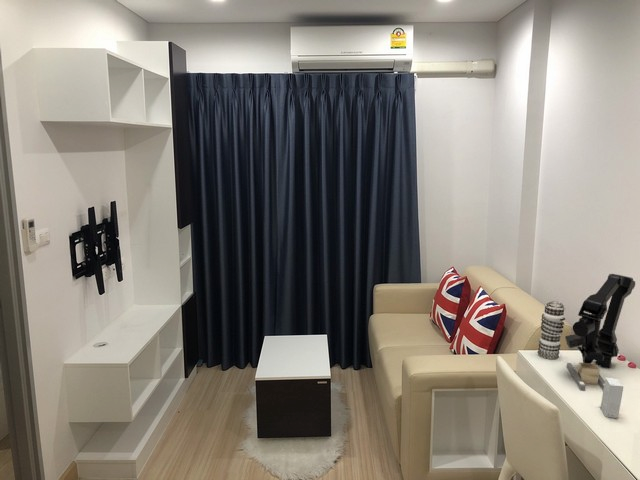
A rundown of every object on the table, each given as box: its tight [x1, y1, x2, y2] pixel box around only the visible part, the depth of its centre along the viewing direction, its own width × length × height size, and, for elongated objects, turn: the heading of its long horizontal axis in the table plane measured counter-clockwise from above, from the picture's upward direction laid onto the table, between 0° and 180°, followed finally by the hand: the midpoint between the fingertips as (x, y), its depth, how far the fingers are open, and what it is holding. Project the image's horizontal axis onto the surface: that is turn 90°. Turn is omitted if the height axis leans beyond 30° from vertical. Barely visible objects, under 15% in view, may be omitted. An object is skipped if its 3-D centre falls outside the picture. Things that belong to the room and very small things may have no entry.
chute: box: [566, 362, 605, 392], centre depth 207 cm, size 20×12×3 cm, turn 169°
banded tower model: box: [537, 300, 566, 360], centre depth 225 cm, size 9×9×25 cm
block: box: [577, 362, 601, 385], centre depth 206 cm, size 5×6×6 cm
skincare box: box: [600, 377, 624, 419], centre depth 184 cm, size 6×4×12 cm
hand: (585, 367), depth 209 cm, fingers closed
